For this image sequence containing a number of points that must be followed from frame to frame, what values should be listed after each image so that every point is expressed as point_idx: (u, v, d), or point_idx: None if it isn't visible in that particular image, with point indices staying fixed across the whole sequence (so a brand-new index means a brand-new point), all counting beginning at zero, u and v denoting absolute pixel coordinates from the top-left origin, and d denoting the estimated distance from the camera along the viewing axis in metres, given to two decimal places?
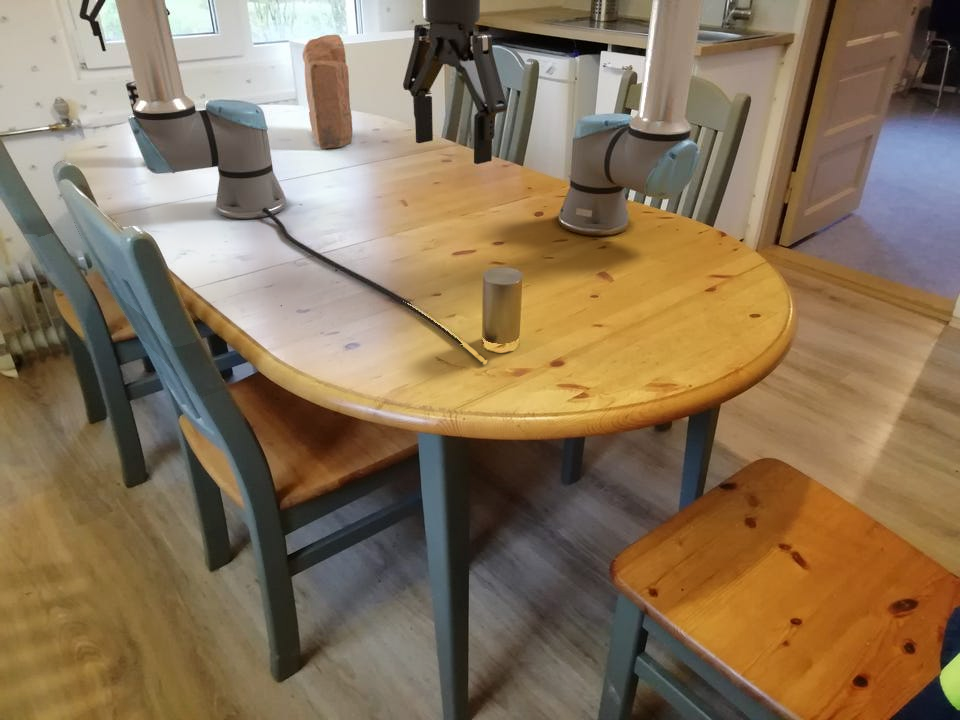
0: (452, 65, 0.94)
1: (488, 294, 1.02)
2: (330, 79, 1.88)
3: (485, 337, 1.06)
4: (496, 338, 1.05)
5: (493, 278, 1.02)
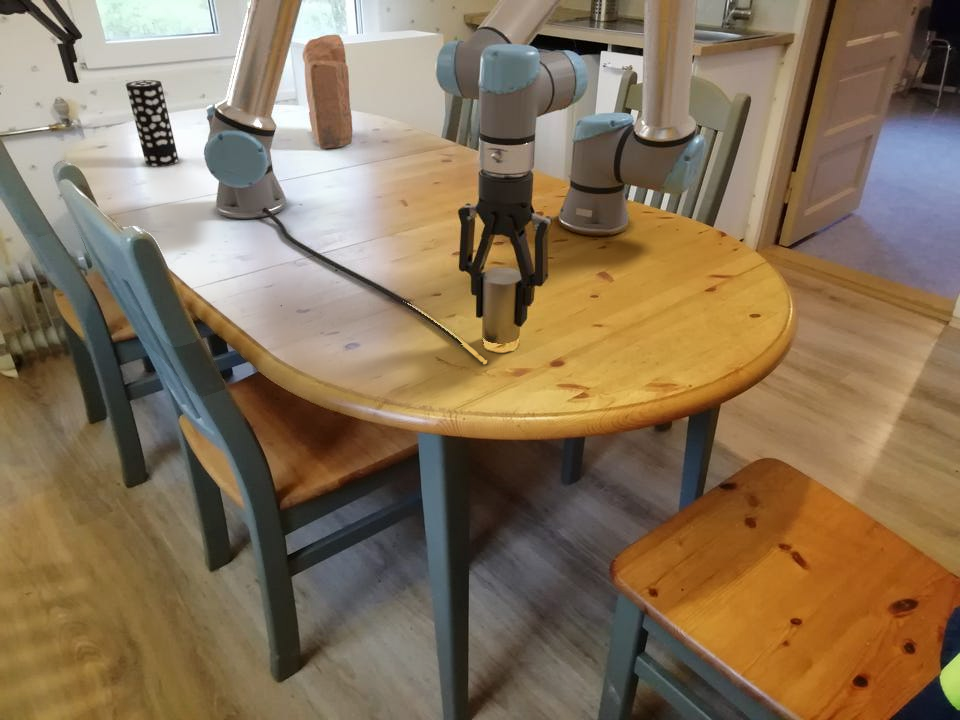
0: None
1: (488, 294, 1.02)
2: (330, 79, 1.88)
3: (485, 337, 1.06)
4: (496, 338, 1.05)
5: (493, 278, 1.02)
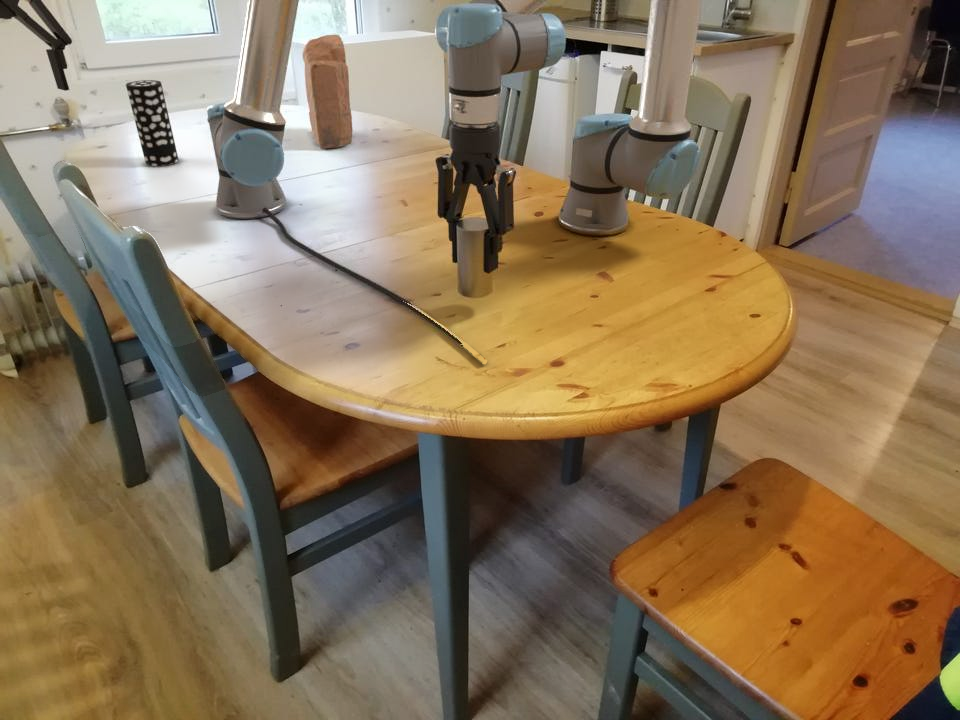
0: None
1: (459, 239, 1.10)
2: (330, 79, 1.88)
3: (458, 281, 1.15)
4: (466, 282, 1.13)
5: (465, 225, 1.10)
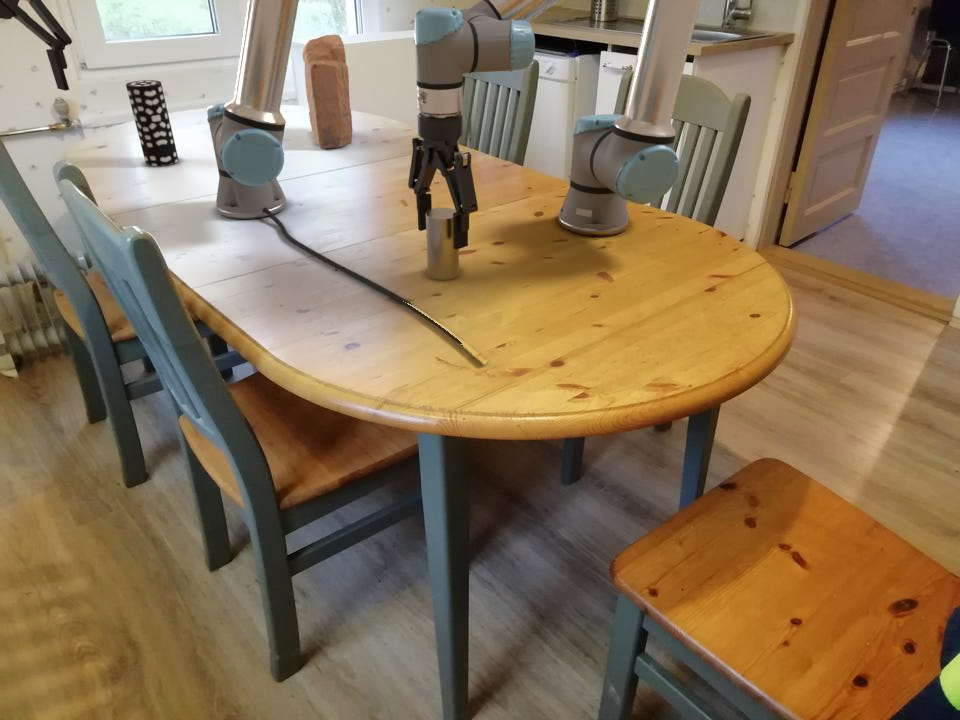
0: None
1: (426, 225, 1.24)
2: (330, 79, 1.88)
3: (427, 263, 1.29)
4: (431, 265, 1.27)
5: (433, 213, 1.24)
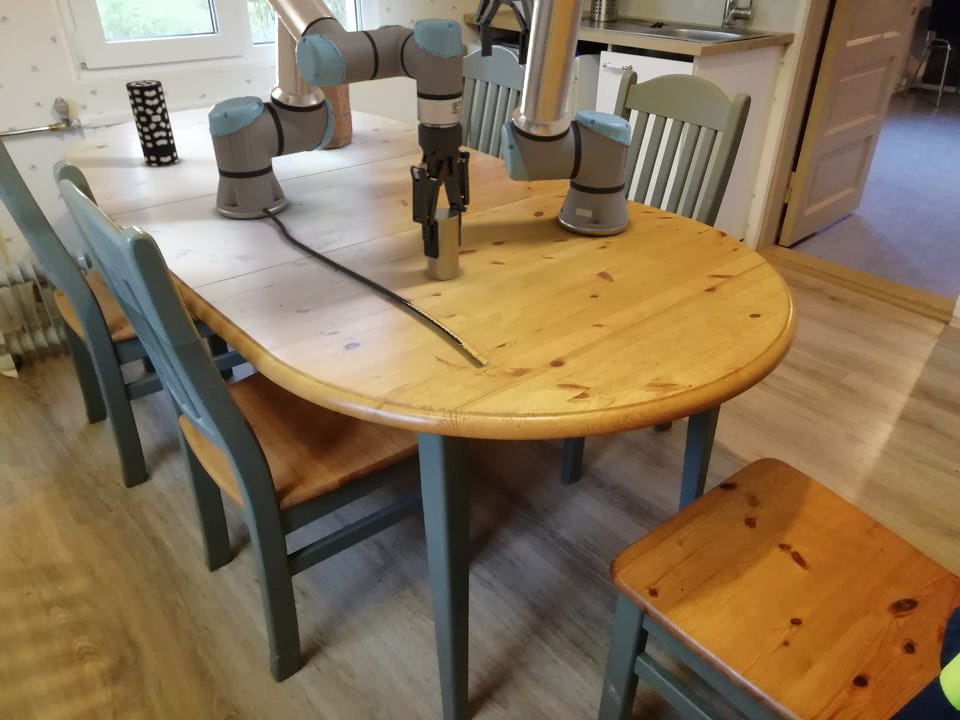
0: (506, 4, 1.57)
1: None
2: None
3: (427, 263, 1.29)
4: (431, 265, 1.27)
5: None
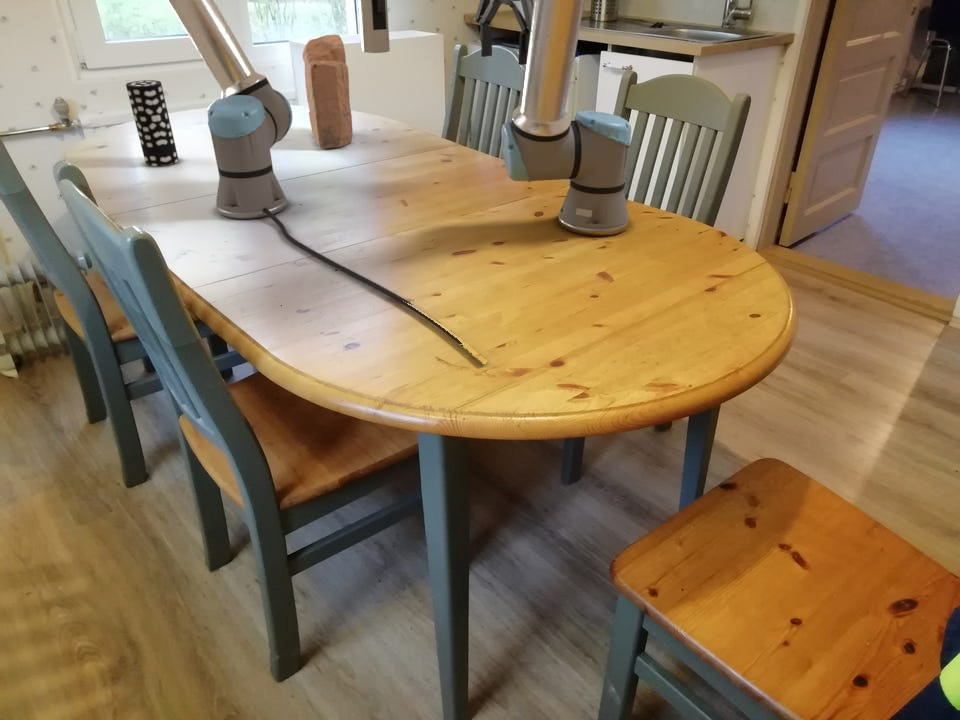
0: (506, 4, 1.57)
1: (368, 2, 1.43)
2: (330, 79, 1.88)
3: (369, 42, 1.47)
4: (379, 39, 1.47)
5: None
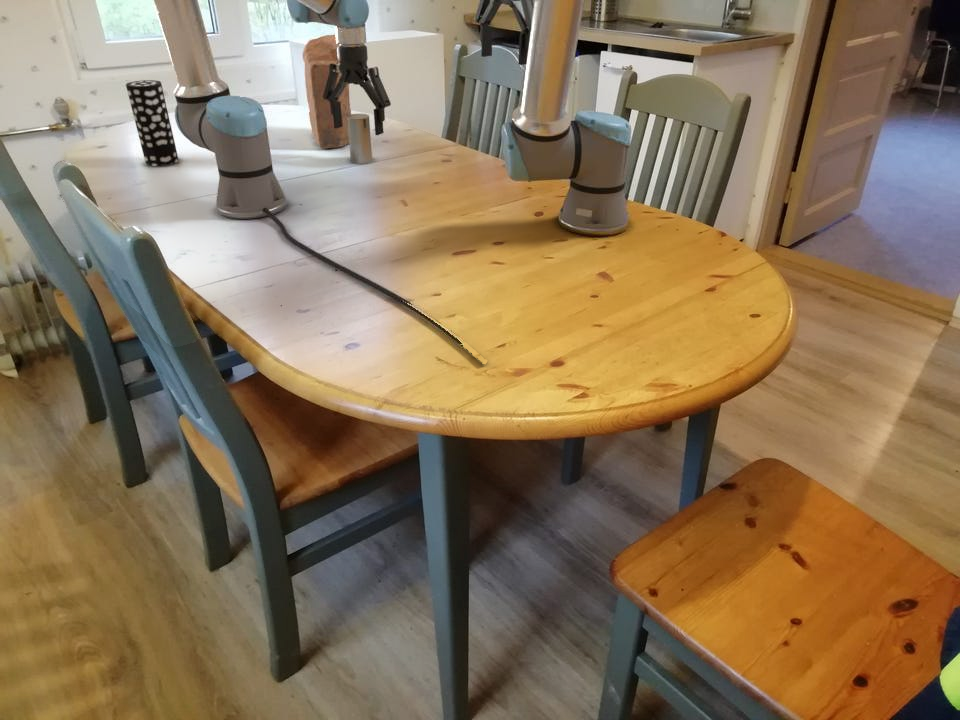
0: (506, 4, 1.57)
1: (361, 126, 1.82)
2: None
3: (362, 155, 1.86)
4: (369, 152, 1.87)
5: (358, 117, 1.82)
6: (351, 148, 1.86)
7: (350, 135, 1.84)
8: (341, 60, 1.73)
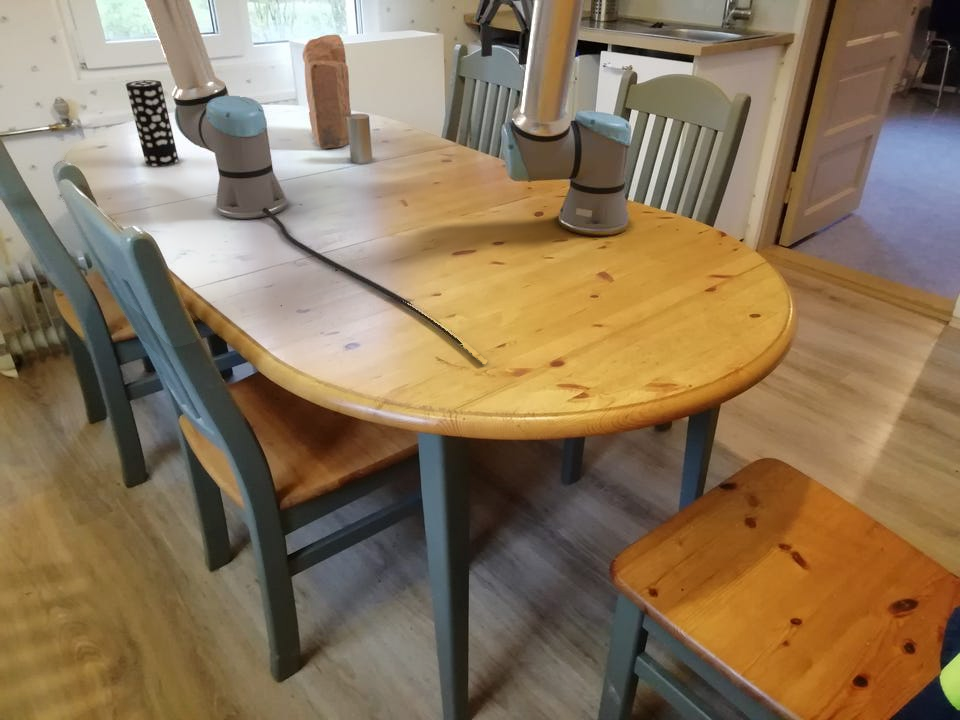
0: (506, 4, 1.57)
1: (361, 126, 1.82)
2: (330, 79, 1.88)
3: (362, 155, 1.86)
4: (369, 152, 1.87)
5: (358, 117, 1.82)
6: (351, 148, 1.86)
7: (350, 135, 1.84)
8: None
